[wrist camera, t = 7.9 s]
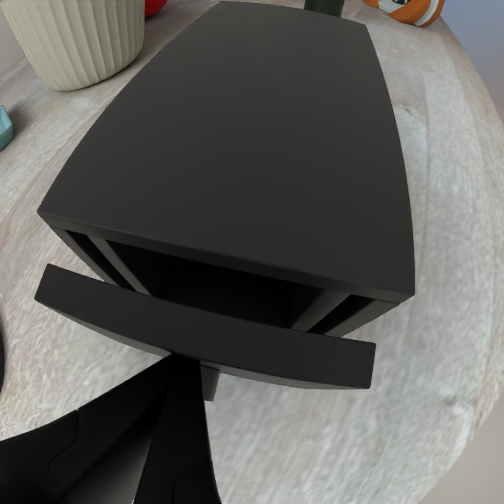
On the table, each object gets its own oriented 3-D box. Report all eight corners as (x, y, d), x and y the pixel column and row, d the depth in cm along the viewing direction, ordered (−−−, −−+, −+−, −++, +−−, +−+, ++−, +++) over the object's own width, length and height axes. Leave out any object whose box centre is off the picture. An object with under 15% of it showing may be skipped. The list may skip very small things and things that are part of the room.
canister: (190, 60, 27) (183, -104, 8) (40, 135, 22) (-27, -35, 3) (134, 30, 33) (121, -79, 14) (29, 83, 27) (-8, -27, 8)
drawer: (298, 411, 13) (362, 435, 6) (116, 364, 13) (21, 336, 6) (332, 130, 21) (359, 47, 14) (217, 108, 22) (214, 23, 15)
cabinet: (317, 348, 15) (416, 295, 6) (130, 304, 15) (35, 212, 7) (337, 116, 23) (365, 24, 15) (221, 95, 24) (220, 0, 15)
